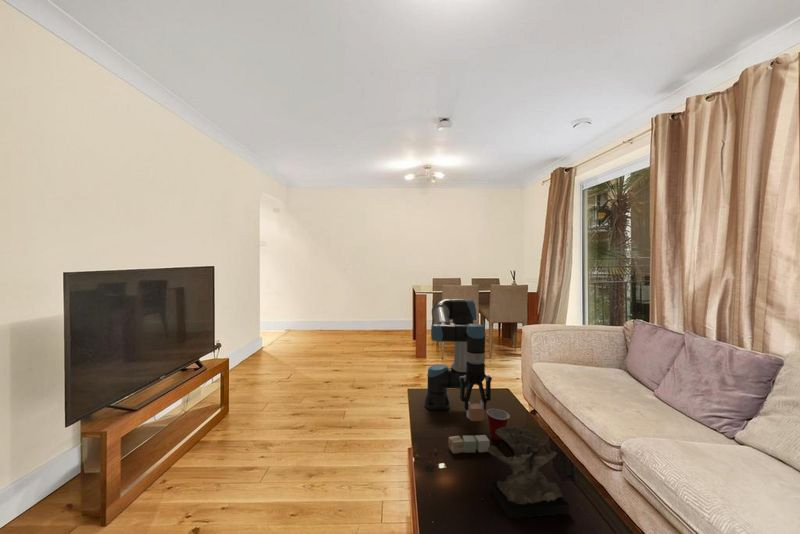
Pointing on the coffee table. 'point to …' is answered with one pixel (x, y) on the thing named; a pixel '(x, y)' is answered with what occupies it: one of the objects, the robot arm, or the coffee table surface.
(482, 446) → the offwhite cube
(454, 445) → the maple cube
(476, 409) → the terracotta cube
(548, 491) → the coral
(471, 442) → the sage cube
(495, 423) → the plastic cup
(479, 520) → the coffee table surface
